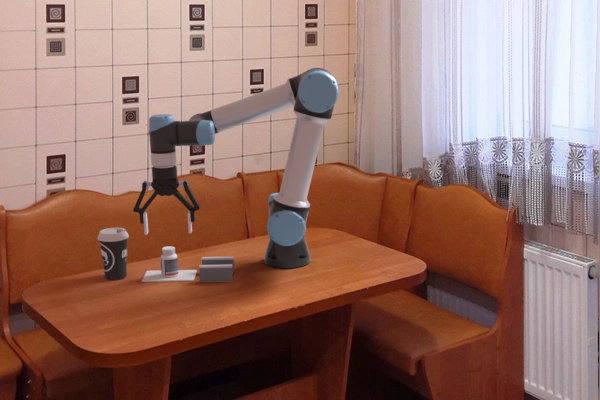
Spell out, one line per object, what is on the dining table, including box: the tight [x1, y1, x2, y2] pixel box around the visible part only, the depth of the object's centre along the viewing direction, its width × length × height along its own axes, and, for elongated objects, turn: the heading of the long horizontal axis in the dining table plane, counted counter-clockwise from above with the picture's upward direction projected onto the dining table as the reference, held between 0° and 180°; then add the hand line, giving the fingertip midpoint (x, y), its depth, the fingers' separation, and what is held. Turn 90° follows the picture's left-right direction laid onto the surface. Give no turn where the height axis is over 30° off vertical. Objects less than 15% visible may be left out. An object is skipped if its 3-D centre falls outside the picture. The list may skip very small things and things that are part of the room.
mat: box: [141, 269, 198, 283], centre depth 266 cm, size 16×10×1 cm, turn 91°
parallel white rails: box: [198, 255, 235, 283], centre depth 264 cm, size 10×10×5 cm
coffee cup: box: [97, 227, 130, 281], centre depth 264 cm, size 10×10×15 cm
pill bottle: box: [160, 245, 179, 277], centre depth 265 cm, size 5×5×9 cm
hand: (168, 232), depth 262 cm, fingers open, 13 cm apart
